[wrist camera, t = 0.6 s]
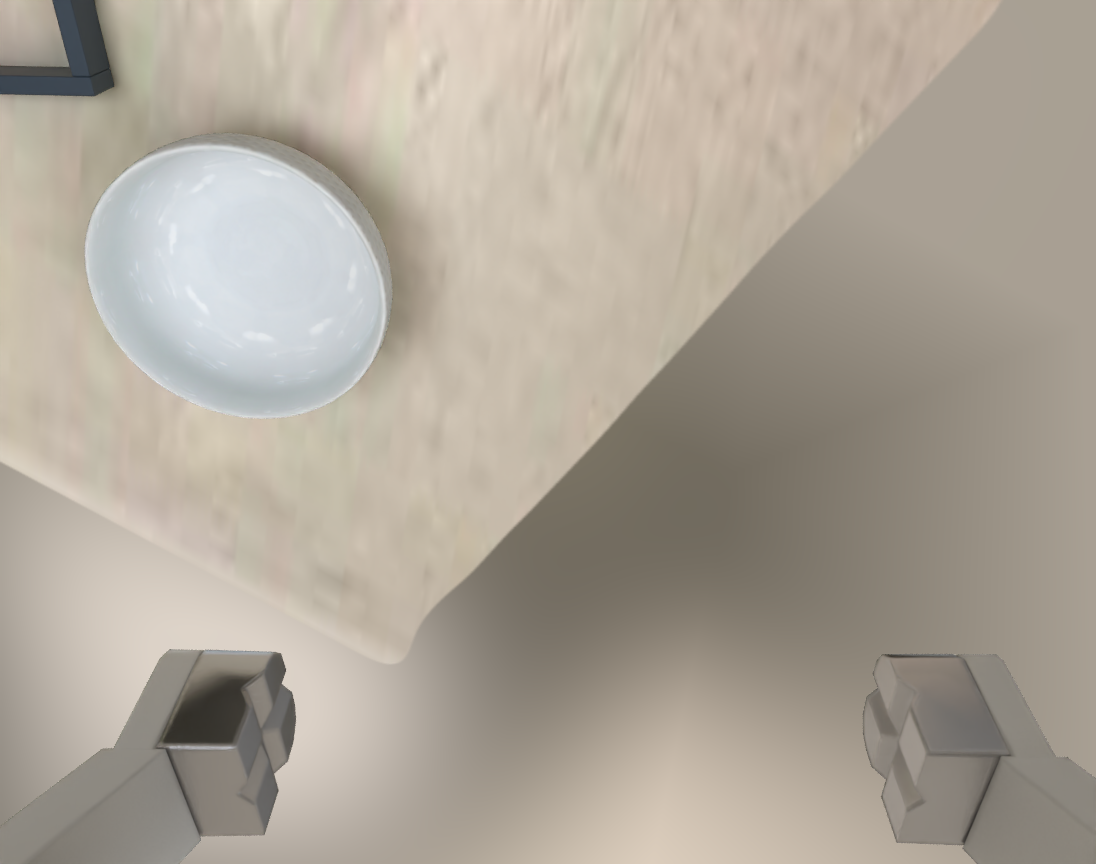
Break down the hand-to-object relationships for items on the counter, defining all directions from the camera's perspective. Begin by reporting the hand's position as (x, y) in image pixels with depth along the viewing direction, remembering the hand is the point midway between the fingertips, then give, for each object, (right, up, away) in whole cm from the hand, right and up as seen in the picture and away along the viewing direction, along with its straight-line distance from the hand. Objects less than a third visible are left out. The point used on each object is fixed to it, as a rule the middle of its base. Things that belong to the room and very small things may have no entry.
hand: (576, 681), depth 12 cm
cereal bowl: (-18, +15, +43) cm, 49 cm away
